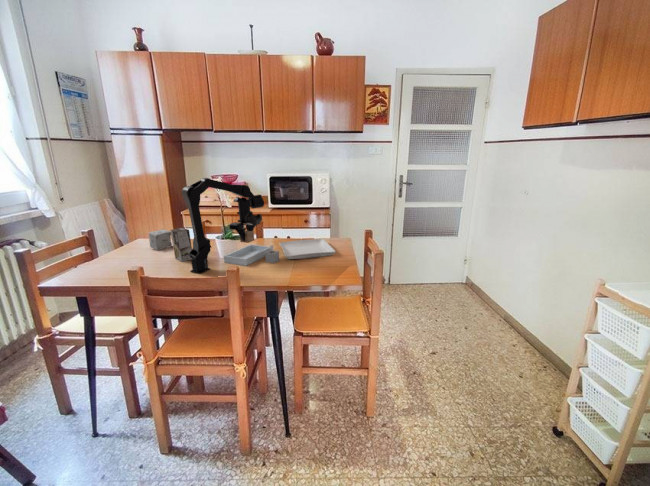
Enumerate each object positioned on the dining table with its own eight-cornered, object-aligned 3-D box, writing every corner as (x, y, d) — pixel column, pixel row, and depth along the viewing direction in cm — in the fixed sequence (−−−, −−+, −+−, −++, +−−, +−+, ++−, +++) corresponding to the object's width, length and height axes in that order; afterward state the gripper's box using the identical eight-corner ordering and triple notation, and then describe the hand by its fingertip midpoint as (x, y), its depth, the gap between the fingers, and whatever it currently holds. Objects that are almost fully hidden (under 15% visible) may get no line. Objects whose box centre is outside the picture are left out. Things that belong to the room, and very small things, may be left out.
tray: (246, 266, 147) (245, 259, 146) (224, 262, 153) (223, 256, 152) (271, 253, 166) (271, 246, 165) (251, 250, 172) (250, 244, 171)
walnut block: (240, 241, 156) (239, 232, 154) (246, 239, 160) (245, 230, 158) (248, 242, 154) (247, 233, 152) (254, 240, 158) (253, 231, 156)
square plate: (285, 263, 151) (285, 255, 150) (279, 248, 177) (278, 241, 176) (336, 257, 158) (336, 250, 157) (323, 243, 184) (322, 237, 182)
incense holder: (158, 250, 174) (155, 233, 172) (150, 249, 178) (146, 232, 175) (173, 246, 183) (170, 230, 180) (165, 244, 187) (162, 228, 184)
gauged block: (274, 263, 150) (272, 247, 148) (265, 262, 152) (264, 246, 150) (279, 260, 155) (278, 244, 152) (271, 259, 157) (270, 243, 154)
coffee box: (194, 259, 159) (189, 229, 155) (181, 262, 155) (176, 232, 150) (186, 255, 165) (182, 227, 161) (174, 258, 161) (169, 229, 156)
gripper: (245, 214, 141) (248, 245, 145) (268, 207, 157) (270, 236, 161) (227, 212, 145) (230, 243, 149) (250, 206, 161) (253, 234, 166)
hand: (247, 239), depth 156 cm, fingers closed on walnut block, 5 cm apart
